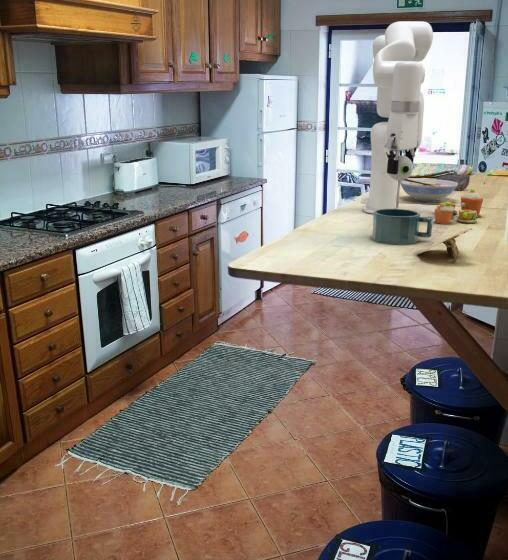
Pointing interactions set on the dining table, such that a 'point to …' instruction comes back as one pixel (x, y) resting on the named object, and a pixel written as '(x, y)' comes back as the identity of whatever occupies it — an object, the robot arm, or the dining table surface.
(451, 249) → the tan irregular piece
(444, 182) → the ramen bowl
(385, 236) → the mug
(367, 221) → the dining table surface
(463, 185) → the perforated stone tool
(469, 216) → the toy tea set
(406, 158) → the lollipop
